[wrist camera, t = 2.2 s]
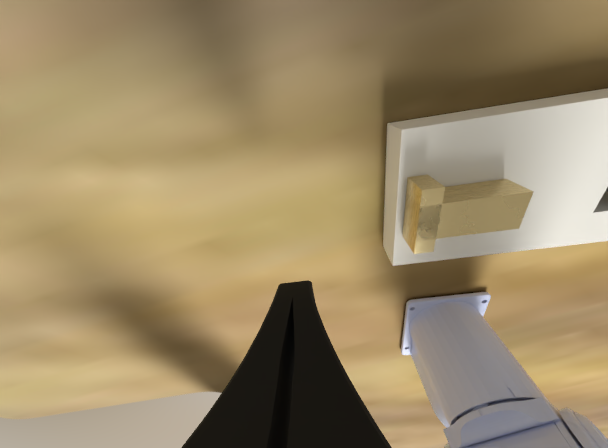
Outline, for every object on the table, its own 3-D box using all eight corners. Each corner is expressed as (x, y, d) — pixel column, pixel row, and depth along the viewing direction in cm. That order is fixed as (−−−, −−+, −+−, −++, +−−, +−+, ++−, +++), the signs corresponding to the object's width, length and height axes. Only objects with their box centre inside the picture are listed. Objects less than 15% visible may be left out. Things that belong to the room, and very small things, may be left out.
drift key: (490, 225, 16) (513, 242, 14) (402, 236, 16) (414, 254, 15) (510, 162, 14) (540, 173, 12) (407, 177, 14) (421, 190, 12)
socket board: (626, 216, 19) (668, 233, 17) (382, 246, 20) (392, 265, 18) (724, 69, 14) (803, 67, 11) (387, 123, 15) (401, 129, 13)
